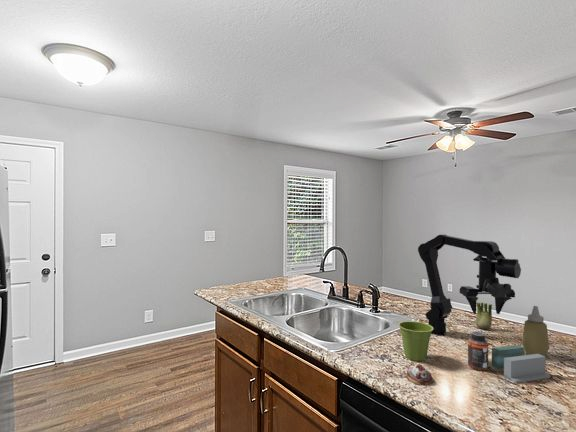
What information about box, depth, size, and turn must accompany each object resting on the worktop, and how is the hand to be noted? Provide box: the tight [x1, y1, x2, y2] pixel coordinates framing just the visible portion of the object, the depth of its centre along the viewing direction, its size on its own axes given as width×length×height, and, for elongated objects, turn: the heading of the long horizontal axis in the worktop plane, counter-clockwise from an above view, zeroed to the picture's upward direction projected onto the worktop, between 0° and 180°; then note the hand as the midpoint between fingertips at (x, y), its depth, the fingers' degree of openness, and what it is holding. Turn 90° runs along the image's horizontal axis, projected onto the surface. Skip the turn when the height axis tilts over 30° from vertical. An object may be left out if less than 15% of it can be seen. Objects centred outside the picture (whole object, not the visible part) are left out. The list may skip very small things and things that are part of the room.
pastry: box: [406, 363, 433, 386], centre depth 100 cm, size 8×8×5 cm
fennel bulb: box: [475, 302, 493, 331], centre depth 148 cm, size 6×5×12 cm
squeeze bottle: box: [521, 305, 550, 357], centre depth 120 cm, size 8×8×18 cm
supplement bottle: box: [467, 331, 489, 372], centre depth 109 cm, size 6×6×11 cm
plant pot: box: [397, 320, 433, 362], centre depth 116 cm, size 12×12×11 cm
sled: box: [488, 344, 525, 372], centre depth 113 cm, size 11×11×7 cm
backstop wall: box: [503, 354, 551, 384], centre depth 102 cm, size 4×14×6 cm, turn 105°
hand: (486, 313), depth 126 cm, fingers open, 9 cm apart
